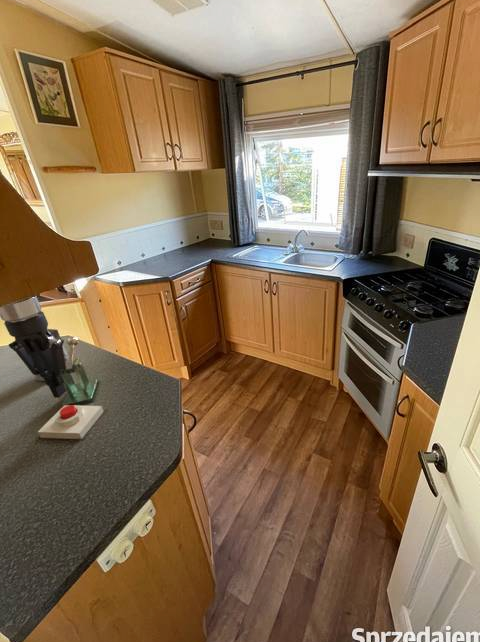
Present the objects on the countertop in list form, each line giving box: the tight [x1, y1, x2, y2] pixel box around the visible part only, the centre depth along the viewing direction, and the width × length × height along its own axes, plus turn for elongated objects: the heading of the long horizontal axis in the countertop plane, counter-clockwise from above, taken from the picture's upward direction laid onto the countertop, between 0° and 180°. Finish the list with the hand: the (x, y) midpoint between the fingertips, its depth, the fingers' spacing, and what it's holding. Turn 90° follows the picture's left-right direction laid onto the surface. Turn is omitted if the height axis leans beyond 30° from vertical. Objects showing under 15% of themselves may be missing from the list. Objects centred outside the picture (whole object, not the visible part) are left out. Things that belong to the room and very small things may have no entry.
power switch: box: [61, 356, 99, 407], centre depth 91 cm, size 10×8×13 cm
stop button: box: [60, 405, 77, 419], centre depth 81 cm, size 4×4×2 cm
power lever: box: [65, 336, 80, 374], centre depth 93 cm, size 13×3×3 cm, turn 20°
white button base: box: [37, 404, 105, 440], centre depth 82 cm, size 12×10×4 cm
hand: (60, 394), depth 78 cm, fingers closed
